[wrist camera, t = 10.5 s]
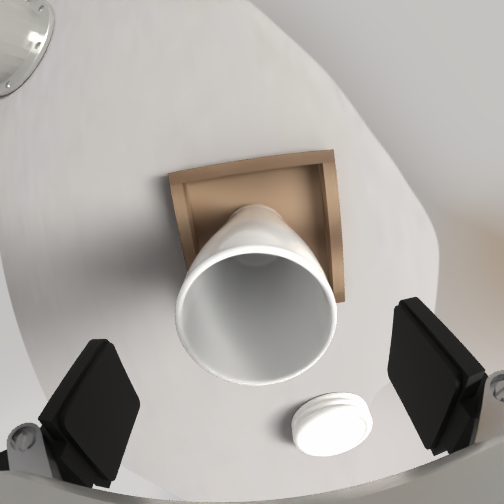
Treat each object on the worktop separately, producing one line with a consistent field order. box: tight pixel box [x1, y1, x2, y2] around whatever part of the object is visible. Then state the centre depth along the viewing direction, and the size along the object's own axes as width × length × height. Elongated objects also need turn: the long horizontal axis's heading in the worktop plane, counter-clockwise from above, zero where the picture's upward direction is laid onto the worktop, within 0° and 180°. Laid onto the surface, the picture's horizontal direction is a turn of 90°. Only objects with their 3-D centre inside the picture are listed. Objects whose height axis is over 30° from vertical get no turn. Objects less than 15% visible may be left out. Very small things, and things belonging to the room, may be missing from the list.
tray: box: [168, 149, 345, 303], centre depth 26 cm, size 13×13×2 cm
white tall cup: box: [175, 204, 337, 386], centre depth 19 cm, size 7×7×15 cm
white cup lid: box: [291, 392, 372, 456], centre depth 32 cm, size 10×10×4 cm
